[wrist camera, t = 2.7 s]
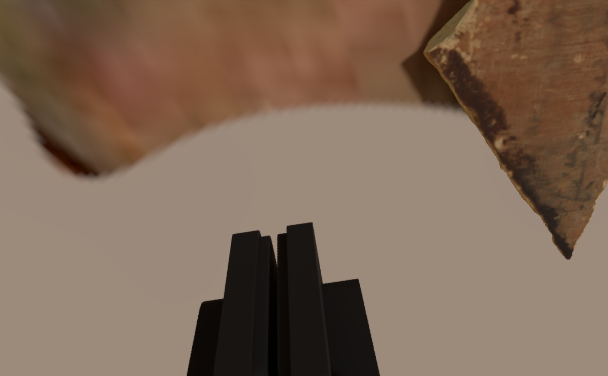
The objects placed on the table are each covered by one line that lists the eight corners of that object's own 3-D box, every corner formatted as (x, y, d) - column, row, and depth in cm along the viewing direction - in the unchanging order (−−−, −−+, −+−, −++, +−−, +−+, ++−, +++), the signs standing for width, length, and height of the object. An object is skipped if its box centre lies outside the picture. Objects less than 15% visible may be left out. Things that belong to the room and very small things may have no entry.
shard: (551, 238, 21) (573, 266, 19) (368, 214, 20) (375, 241, 18) (699, -53, 16) (746, -48, 14) (459, -106, 15) (481, -106, 13)
